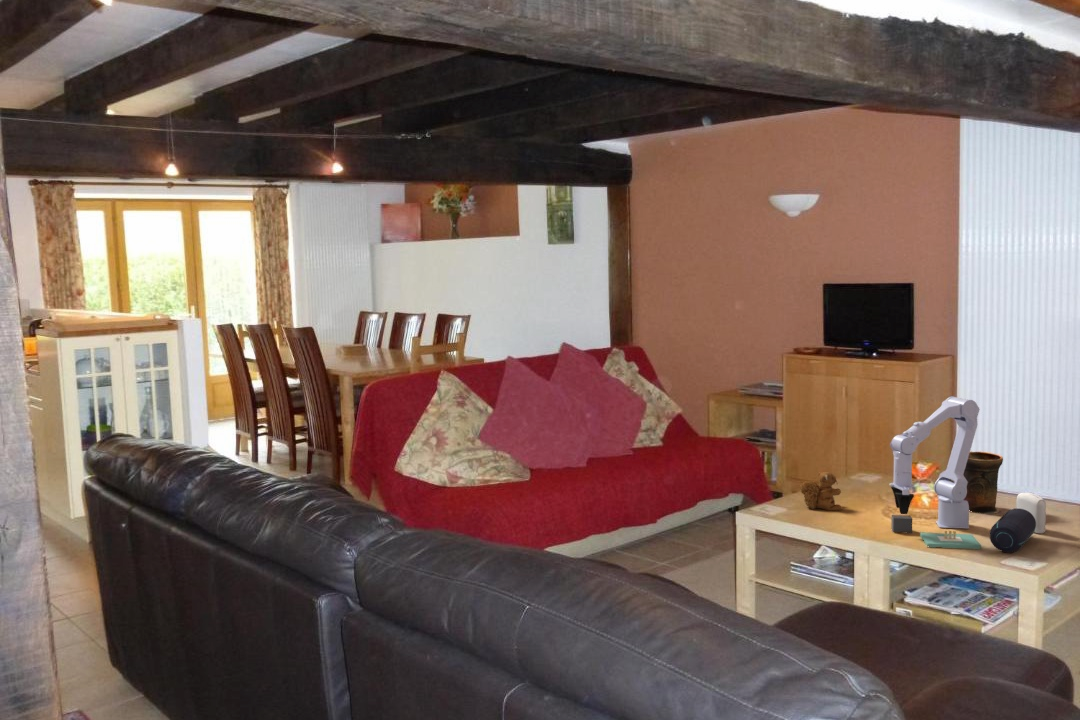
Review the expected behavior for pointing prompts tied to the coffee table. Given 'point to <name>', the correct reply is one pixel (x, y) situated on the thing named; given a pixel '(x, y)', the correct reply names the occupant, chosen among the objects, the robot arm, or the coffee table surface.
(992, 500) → the vessel
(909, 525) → the plug housing
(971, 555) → the coffee table surface
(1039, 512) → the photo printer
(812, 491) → the stuffed squirrel
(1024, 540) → the portable speaker
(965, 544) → the header board
